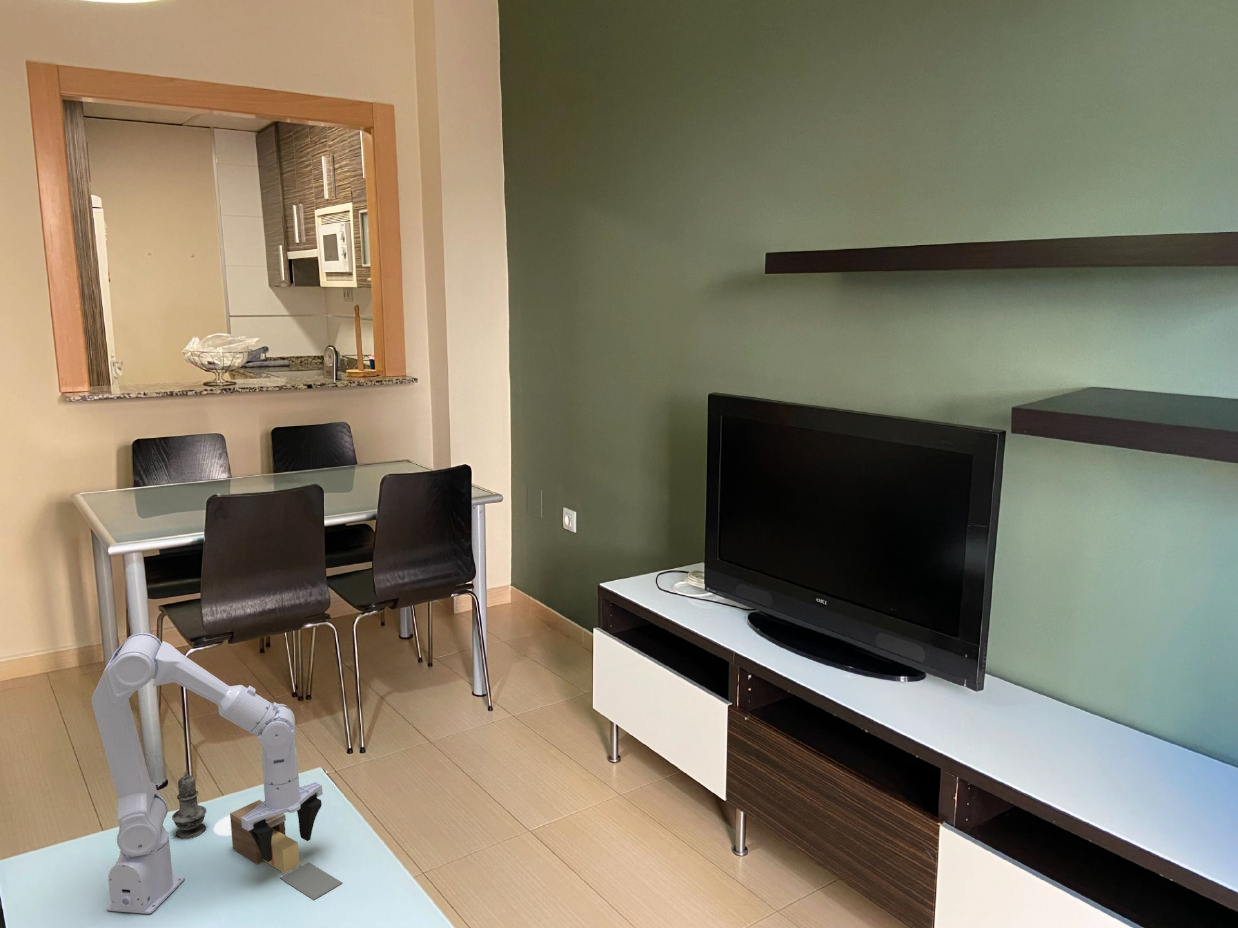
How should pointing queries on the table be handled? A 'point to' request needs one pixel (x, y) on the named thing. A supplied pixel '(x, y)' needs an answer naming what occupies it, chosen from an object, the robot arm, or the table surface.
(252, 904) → the table surface
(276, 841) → the tan rectangular block
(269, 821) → the brown wooden open box
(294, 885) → the mat
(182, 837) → the grey stone finial
